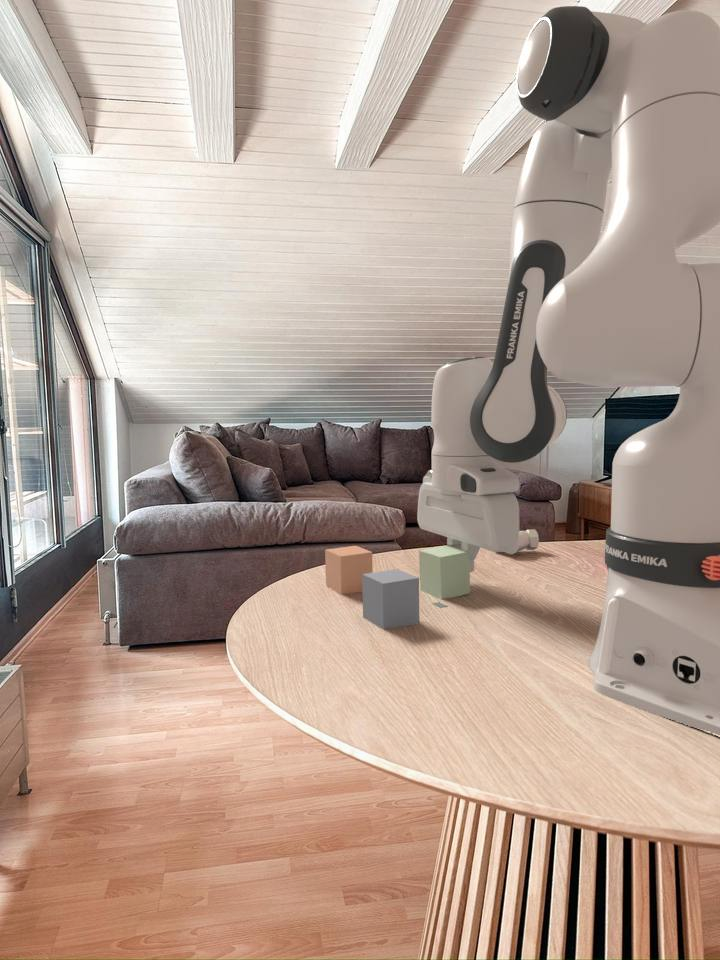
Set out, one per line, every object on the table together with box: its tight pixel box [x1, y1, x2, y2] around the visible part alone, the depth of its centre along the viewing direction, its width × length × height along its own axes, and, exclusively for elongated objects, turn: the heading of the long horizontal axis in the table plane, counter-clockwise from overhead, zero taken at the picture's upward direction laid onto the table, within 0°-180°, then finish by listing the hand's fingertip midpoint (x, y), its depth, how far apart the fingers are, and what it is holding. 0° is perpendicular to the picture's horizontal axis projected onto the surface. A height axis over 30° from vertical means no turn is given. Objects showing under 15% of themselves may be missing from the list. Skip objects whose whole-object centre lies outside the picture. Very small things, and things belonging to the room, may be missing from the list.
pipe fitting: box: [503, 528, 540, 555], centre depth 116 cm, size 8×4×7 cm
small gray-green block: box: [431, 601, 449, 609], centre depth 85 cm, size 2×1×1 cm, turn 28°
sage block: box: [418, 544, 471, 600], centre depth 90 cm, size 5×5×6 cm
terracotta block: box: [324, 545, 374, 595], centre depth 92 cm, size 5×5×6 cm
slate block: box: [362, 568, 420, 630], centre depth 78 cm, size 5×5×6 cm
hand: (463, 570), depth 92 cm, fingers closed, pressing on sage block
